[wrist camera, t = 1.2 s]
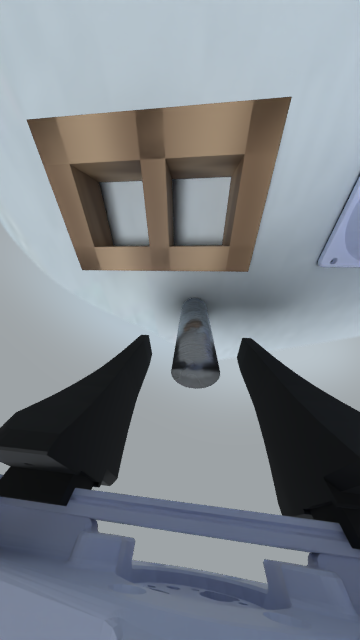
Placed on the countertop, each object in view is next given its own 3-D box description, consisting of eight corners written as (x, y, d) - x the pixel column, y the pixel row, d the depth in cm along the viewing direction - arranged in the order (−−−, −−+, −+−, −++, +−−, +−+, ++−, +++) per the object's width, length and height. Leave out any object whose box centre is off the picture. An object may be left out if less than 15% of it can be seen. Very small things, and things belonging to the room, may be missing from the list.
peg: (207, 298, 15) (223, 358, 7) (205, 320, 17) (216, 390, 9) (181, 297, 15) (170, 355, 8) (181, 319, 17) (172, 386, 9)
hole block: (263, 138, 9) (291, 96, 6) (237, 265, 13) (248, 271, 10) (69, 151, 10) (26, 119, 7) (102, 264, 14) (82, 270, 11)
